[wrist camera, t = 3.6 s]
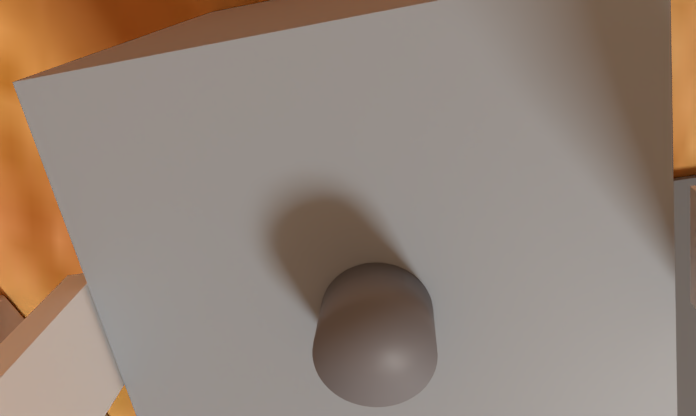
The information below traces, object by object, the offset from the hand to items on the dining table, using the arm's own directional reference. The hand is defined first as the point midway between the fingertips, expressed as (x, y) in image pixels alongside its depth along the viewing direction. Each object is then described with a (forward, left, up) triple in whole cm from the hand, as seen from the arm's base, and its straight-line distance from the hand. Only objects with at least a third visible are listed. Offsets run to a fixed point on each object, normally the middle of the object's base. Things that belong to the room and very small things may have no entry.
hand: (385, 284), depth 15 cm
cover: (0, 0, -14) cm, 14 cm away
